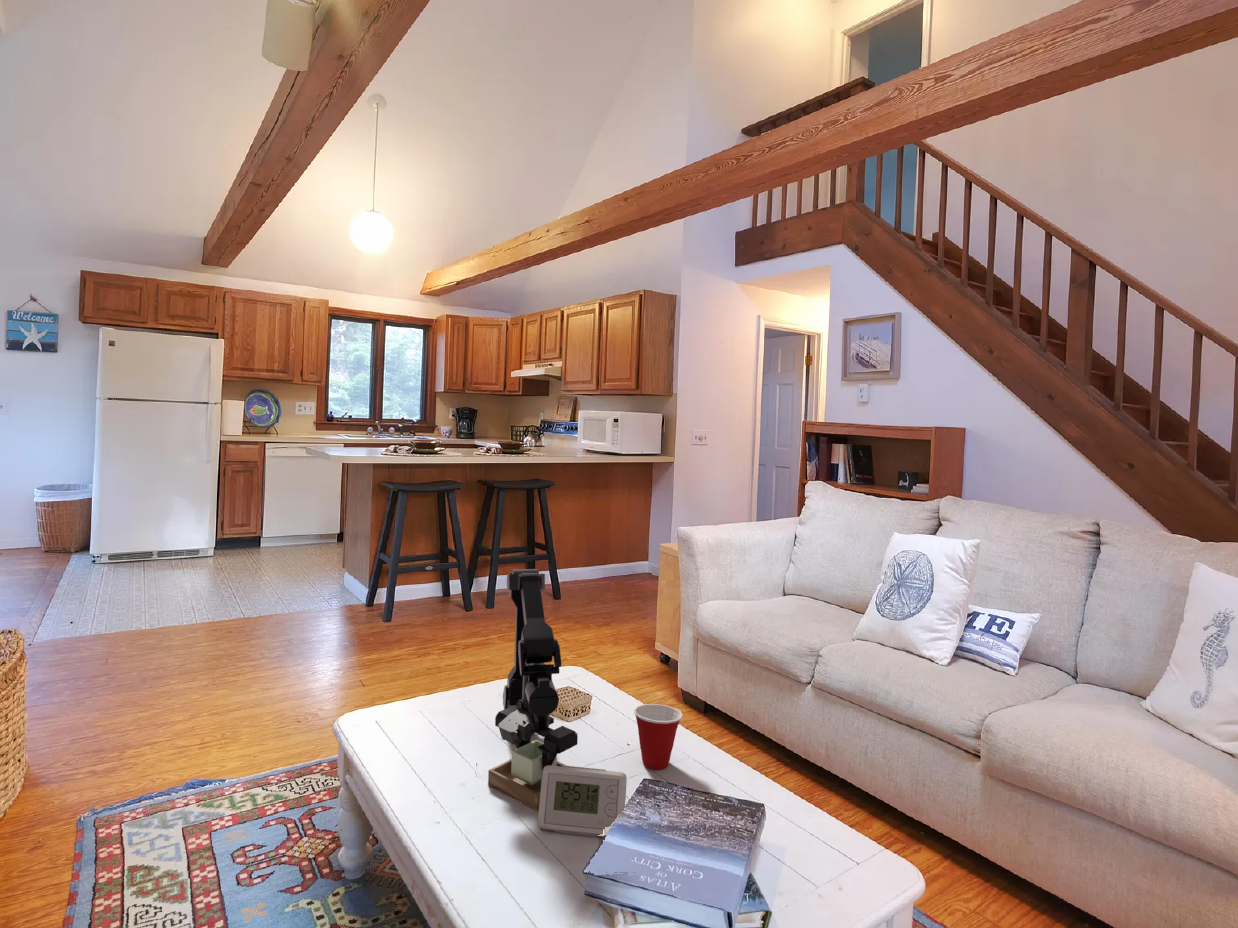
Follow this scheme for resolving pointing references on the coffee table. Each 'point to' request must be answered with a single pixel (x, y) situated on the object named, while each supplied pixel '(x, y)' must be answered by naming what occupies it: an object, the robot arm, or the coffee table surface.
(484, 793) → the coffee table surface
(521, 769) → the small crate
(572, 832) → the digital clock
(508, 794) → the big crate
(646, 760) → the plastic cup
